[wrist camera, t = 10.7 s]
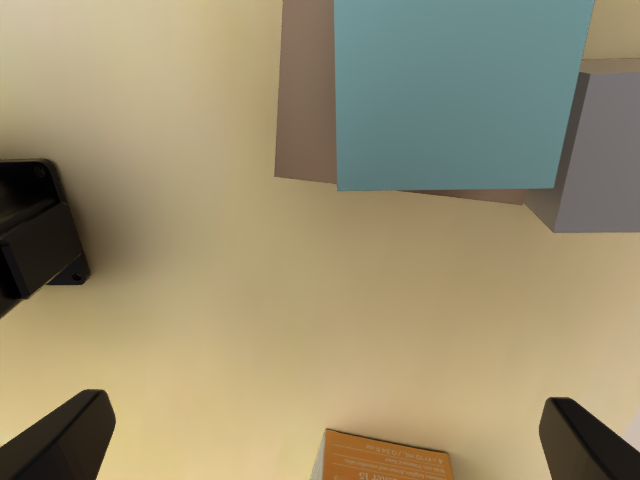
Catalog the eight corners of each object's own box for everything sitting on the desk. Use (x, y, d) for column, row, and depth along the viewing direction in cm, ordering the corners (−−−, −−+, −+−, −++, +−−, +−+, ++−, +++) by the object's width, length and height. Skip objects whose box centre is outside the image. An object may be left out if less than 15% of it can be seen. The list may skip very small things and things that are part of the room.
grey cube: (505, 183, 19) (553, 232, 14) (525, 61, 17) (590, 74, 12) (623, 182, 18) (710, 232, 14) (660, 57, 16) (779, 68, 12)
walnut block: (288, 148, 19) (274, 176, 15) (304, -104, 15) (290, -145, 11) (490, 171, 19) (522, 205, 15) (561, -77, 15) (628, -110, 11)
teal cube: (341, 141, 15) (337, 190, 10) (338, -29, 12) (332, -62, 8) (489, 138, 14) (553, 188, 10) (514, -38, 12) (611, -77, 8)
